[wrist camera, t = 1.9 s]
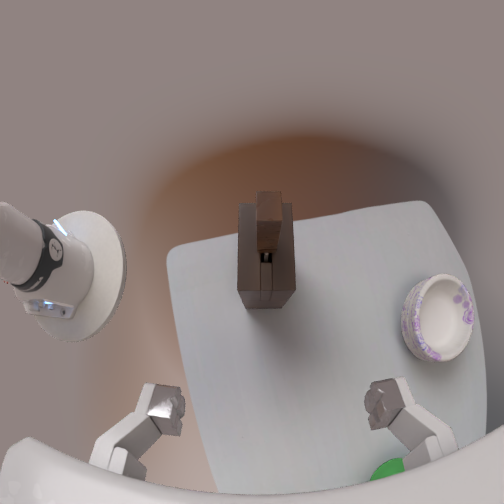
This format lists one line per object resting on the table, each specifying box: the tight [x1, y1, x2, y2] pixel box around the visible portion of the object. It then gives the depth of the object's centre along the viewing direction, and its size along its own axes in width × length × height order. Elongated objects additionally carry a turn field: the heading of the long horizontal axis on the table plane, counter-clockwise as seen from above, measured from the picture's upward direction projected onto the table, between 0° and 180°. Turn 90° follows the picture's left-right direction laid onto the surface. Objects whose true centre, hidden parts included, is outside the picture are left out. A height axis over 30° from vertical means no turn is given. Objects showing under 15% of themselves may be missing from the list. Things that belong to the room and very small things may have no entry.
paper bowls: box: [401, 274, 474, 362], centre depth 39 cm, size 15×15×8 cm
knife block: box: [237, 203, 296, 309], centre depth 38 cm, size 6×10×18 cm, turn 0°
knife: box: [256, 191, 283, 263], centre depth 29 cm, size 2×3×17 cm, turn 0°
